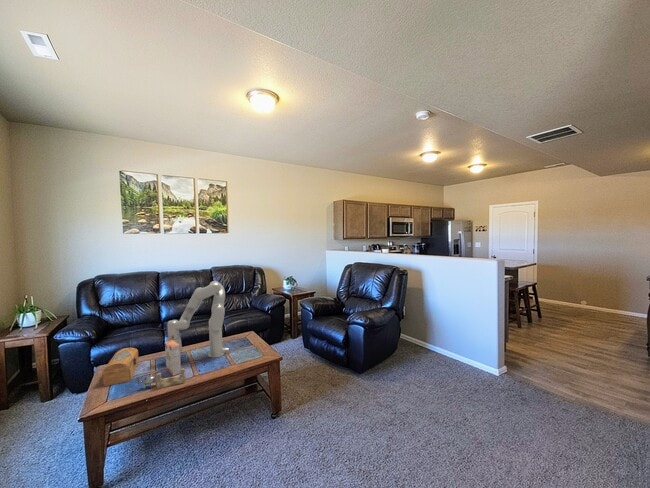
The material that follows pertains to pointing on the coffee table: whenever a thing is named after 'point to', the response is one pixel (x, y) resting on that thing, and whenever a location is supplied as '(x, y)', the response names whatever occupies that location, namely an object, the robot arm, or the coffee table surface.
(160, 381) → the bay
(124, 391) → the coffee table surface
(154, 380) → the winch
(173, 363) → the cracker box
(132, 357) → the wooden box
